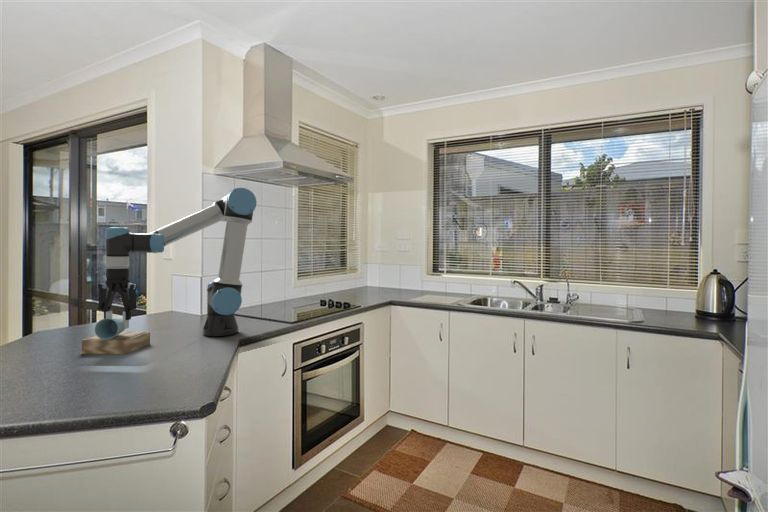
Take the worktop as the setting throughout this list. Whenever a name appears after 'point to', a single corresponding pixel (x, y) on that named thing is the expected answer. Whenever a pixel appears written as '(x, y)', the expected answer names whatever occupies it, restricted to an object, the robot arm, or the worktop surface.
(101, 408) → the worktop surface
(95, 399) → the worktop surface
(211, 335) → the robot arm
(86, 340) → the base
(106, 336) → the cup
